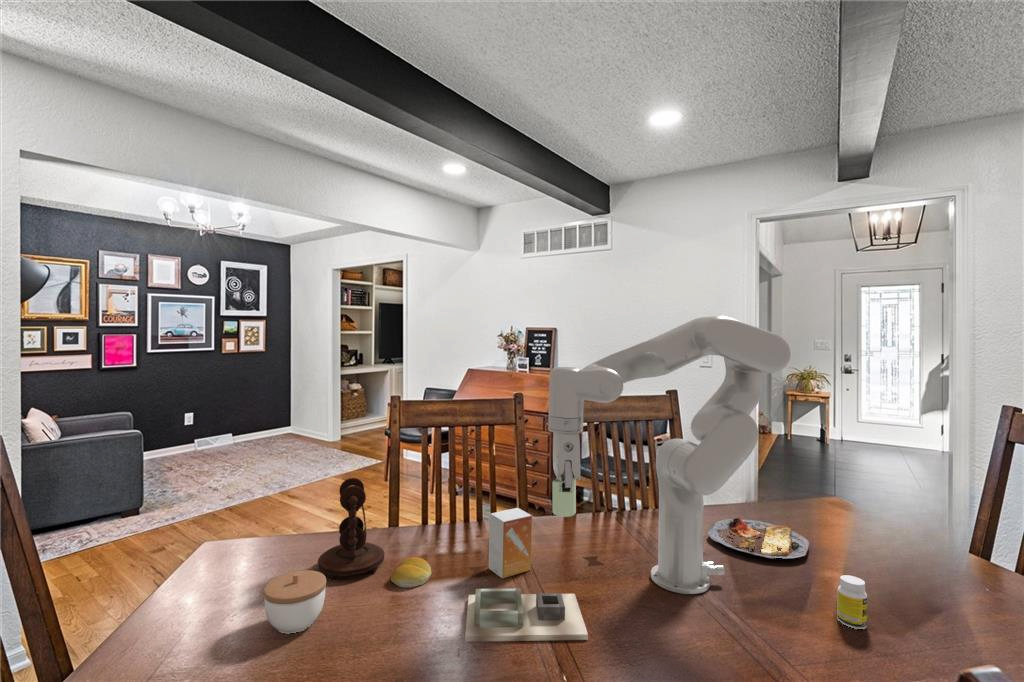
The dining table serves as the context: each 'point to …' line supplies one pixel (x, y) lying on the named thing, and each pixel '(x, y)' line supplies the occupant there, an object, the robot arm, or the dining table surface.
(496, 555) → the small box
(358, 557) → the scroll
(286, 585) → the lidded jar
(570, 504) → the candle
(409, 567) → the bread roll
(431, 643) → the dining table surface
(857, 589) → the supplement bottle
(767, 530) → the food plate
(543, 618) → the holder board
